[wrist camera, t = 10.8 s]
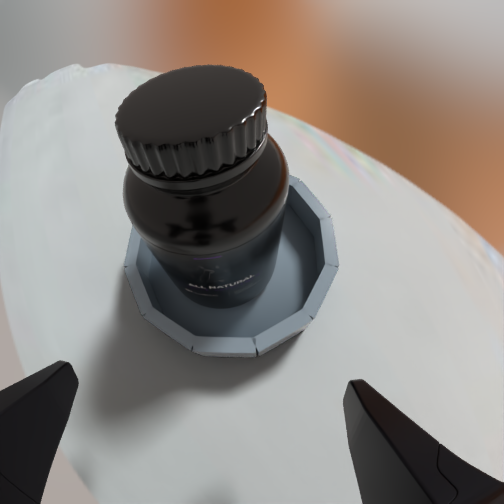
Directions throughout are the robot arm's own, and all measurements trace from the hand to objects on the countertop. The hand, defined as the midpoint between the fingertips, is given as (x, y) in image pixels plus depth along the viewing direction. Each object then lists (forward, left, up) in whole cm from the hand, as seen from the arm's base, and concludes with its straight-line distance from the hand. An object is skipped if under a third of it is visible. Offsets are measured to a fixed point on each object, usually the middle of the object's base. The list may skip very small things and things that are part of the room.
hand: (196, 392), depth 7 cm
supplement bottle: (+7, -4, -8) cm, 11 cm away
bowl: (+7, -4, -9) cm, 12 cm away
